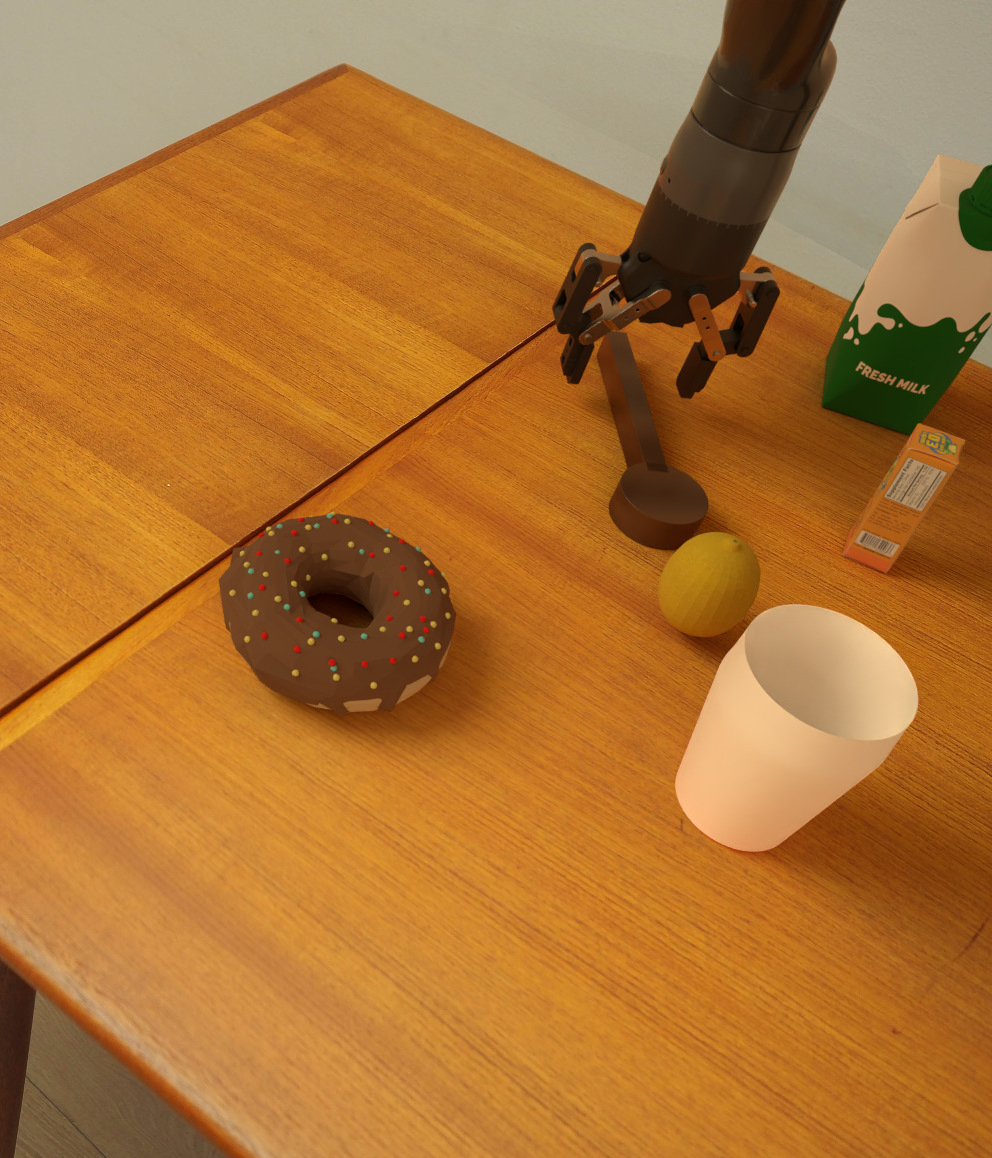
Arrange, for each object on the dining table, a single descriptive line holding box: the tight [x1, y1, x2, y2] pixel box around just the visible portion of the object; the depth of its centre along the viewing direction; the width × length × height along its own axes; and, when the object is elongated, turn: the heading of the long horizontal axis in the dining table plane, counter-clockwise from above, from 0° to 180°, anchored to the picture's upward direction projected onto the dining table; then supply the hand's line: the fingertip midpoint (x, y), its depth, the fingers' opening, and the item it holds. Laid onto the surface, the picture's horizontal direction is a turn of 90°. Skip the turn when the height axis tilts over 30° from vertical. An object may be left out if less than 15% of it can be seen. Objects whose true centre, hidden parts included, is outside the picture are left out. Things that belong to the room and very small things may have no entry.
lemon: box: [657, 531, 762, 638], centre depth 80 cm, size 6×6×8 cm
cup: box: [674, 603, 919, 853], centre depth 70 cm, size 9×9×12 cm
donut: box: [218, 511, 457, 717], centre depth 77 cm, size 14×14×5 cm
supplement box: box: [841, 423, 966, 574], centre depth 87 cm, size 3×3×10 cm
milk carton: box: [821, 153, 992, 436], centre depth 96 cm, size 9×9×20 cm
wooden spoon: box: [596, 330, 710, 550], centre depth 94 cm, size 21×6×2 cm, turn 178°
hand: (627, 384), depth 96 cm, fingers open, 8 cm apart
